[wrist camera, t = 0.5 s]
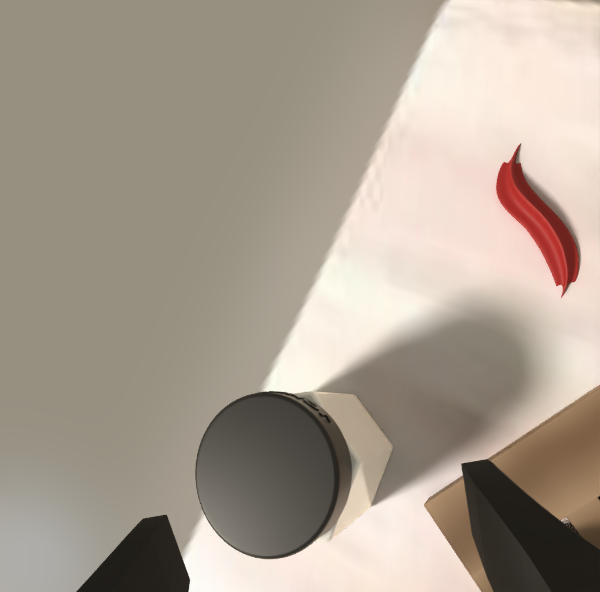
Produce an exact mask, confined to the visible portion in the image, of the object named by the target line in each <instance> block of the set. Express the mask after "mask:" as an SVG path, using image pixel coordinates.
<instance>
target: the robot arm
mask: <svg viewBox="0 0 600 592" xmlns="http://www.w3.org/2000/svg"><path fill="white" fill-rule="evenodd" d="M461 465H462V472H463V478H464V485H465V492H466V498H467V505H468V512H469V518H470V525H471V531H472V536H473V539H474V542H475V545H476V548H477V551H478V553H479V556H480V559H481V562H482V565H483V568H484V570H485V573H486V576H487V579H488V581H489V583H490V585H491V587H492V589H493V592H600V549H599V548H597V547H596V546H594V545H593V544H591V543H590V542H589V541H587V540H586V539H584V538H583V537H582V536H580V535H579V534H577V533H576V532H575V531H573V530H572V529H571V528H569V527H568V526H567V525H565V524H564V523H563V522H561V521H560V520H559V519H558V518H556V517H555V516H554V515H553V514H551V513H550V512H549V511H548V510H546V509H545V508H544V507H543V506H541V505H540V504H539V503H538V502H536V501H535V500H534V499H533V498H532V497H531V496H529V495H528V494H527V493H526V492H525V491H524V490H522V489H521V488H520V487H519V486H518V485H517V484H516V483H514V482H513V481H512V480H511V479H510V478H509V477H508V476H507V475H506V474H504V473H503V472H502V471H501V470H500V469H499V468H498V467H497V466H496V465H495V464H494V463H493V462H491V461H490V460H488V459H486V460H480V461H474V462H468V463H463V464H461ZM189 584H190V578H189V576H188V573H187V570H186V567H185V564H184V562H183V559H182V556H181V553H180V551H179V548H178V545H177V542H176V539H175V537H174V534H173V531H172V528H171V525H170V523H169V520H168V517H167V515H162V516H156V517H150V518H145V519H142V520H141V521H140V523H138V524H137V526H136V527H135V528H134V529H133V530H132V531H131V532H130V533H129V534H128V535H127V536H126V537H125V539H124V540H123V541H122V542H121V543H120V544H119V545H118V546H117V548H116V549H115V550H114V551H113V552H112V553H111V554H110V555H109V556H108V558H107V559H106V560H105V561H104V562H103V563H102V564H101V565H100V566H99V568H98V569H97V570H96V571H95V572H94V573H93V574H92V575H91V576H90V578H89V579H88V580H87V581H86V582H85V583H84V584H83V585H82V586H81V587H80V588H79V590H78V591H77V592H188V591H189Z"/></svg>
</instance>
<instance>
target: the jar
mask: <svg viewBox="0 0 600 592" xmlns="http://www.w3.org/2000/svg"><path fill="white" fill-rule="evenodd" d="M392 450H393V446H392V444H391V443H390V442H389V440H388V439H387V438H386V436H385V435H384V433H383V432H382V431H381V429H380V428H379V427H378V425H377V424H376V423H375V421H374V420H373V418H372V417H371V416H370V414H369V413H368V412H367V410H366V409H365V408H364V406H363V405H362V403H361V402H360V401H359V399H358V398H357V397H356V395H354V394H344V393H328V392H312V391H310V392H303V393H295V394H292V393H287V392H275V391H269V392H259V393H255V394H251V395H247V396H244V397H242V398H239V399H237V400H235V401H234V402H232V403H230V404H229V405H227V406H226V407H225V408H224V409H222V410H221V411H220V412H219V413H218V414H217V415H216V417H215V418H214V419H213V421H212V422H211V423H210V425H209V426H208V428H207V430H206V432H205V433H204V435H203V438H202V440H201V443H200V446H199V450H198V454H197V460H196V471H195V474H196V487H197V493H198V497H199V501H200V504H201V507H202V510H203V512H204V514H205V516H206V518H207V520H208V522H209V523H210V525H211V526H212V528H213V529H214V530H215V532H216V533H217V534H218V535H219V536H220V537H221V538H222V539H223V540H224V541H225V542H226V543H227V544H228V545H230V546H231V547H233V548H234V549H236V550H237V551H239V552H241V553H243V554H246V555H248V556H251V557H255V558H261V559H279V558H284V557H288V556H291V555H294V554H296V553H298V552H300V551H302V550H303V549H305V548H306V547H308V546H309V545H311V544H312V543H313V542H329V541H331V540H332V539H333V538H334V537H336V536H337V535H338V534H339V533H340V532H342V531H343V530H344V529H345V528H346V527H348V526H349V525H350V524H351V523H352V522H354V521H355V520H356V519H357V518H358V517H360V516H361V515H362V514H363V513H364V512H366V511H367V510H368V509H369V508H370V507H371V504H372V502H373V499H374V497H375V494H376V491H377V489H378V486H379V483H380V481H381V478H382V476H383V473H384V470H385V468H386V465H387V463H388V460H389V457H390V455H391V452H392Z"/></svg>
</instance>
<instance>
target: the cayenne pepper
mask: <svg viewBox="0 0 600 592" xmlns="http://www.w3.org/2000/svg"><path fill="white" fill-rule="evenodd" d="M519 147H520V145H519V146H518V147H517V149H516V151H515V153H514V155H513V157H512V159H511V160H510V161H509V163H506V162H504V163H503V164H502V166H501V168H500V171H499V174H498V178H497V185H496V190H497V195H498V198H499V200H500V202H501V204H502V205H503V207H504V208H505V209H506V210H507V211H508V212H509V213H510V214H511V215H512V216H513V217H514V218H515V219H516V220H517V221H518V222H519V223H521V224H522V225H523V226H524V227H525V228H526V230H527V231H528V232H529V233H530V235H531V236H532V238H533V239H534V241H535V242H536V244H537V245H538V247H539V248H540V250H541V252H542V254H543V256H544V257H545V260H546V262H547V264H548V266H549V268H550V270H551V273H552V275H553V278H554V280H555V283H556V286H558V285H562V286H563V293H562V296H563V294H564V292H565V290H566V288H567V286H568V284H569V283H570V282H575V281H576V278H577V275H578V269H579V260H578V252H577V247H576V245H575V242H574V240H573V238H572V236H571V234H570V233H569V231H568V229H567V228H566V226H565V225H564V223H563V222H562V221H561V220H560V218H559V217H558V216H557V215H556V214H555V213H554V212H553V211H552V210H551V209H550V208H549V207H548V206H547V205H546V204H545V203H544V202H543V201H542V200H541V199H540V198H539V197H538V196H537V195H536V193H535V192H534V191H533V190H532V189H531V187H530V186H529V185H528V183H527V182H526V180H525V178H524V176H523V173H522V169H521V163H518V164H516V162H515V161H516V155H517V152H518V149H519ZM562 296H561V298H562Z"/></svg>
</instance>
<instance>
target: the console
mask: <svg viewBox="0 0 600 592" xmlns="http://www.w3.org/2000/svg"><path fill="white" fill-rule="evenodd" d="M488 460H490V461H491V462H493V463H494V464H495V465H496V466H497V467H498V468H499V469H500V470H501V471H502V472H503V473H504V474H506V475H507V476H508V477H509V478H510V479H511V480H512V481H513V482H514V483H516V484H517V485H518V486H519V487H520V488H521V489H522V490H524V491H525V492H526V493H527V494H528V495H529V496H531V497H532V498H533V499H534V500H535V501H536V502H538V503H539V504H540V505H541V506H543V507H544V508H545V509H546V510H548V511H549V512H550V513H551V514H553V515H554V516H555V517H556V518H558V519H559V520H561V519H563V518H565V517H567V518H568V520H569V521H570V522H571V523H572V525H573V526H574V527H575V529H576V530H577V531H578V532H579V534H580V535H581V536H582V537H583V538H584V539H586V540H587V541H589V542H590V543H591V544H593V545H594V546H596V547H597V548H599V549H600V500H599V499H598V498H597V497H599V496H600V385H599V386H597V387H596V388H594V389H593V390H591V391H590V392H588V393H587V394H585V395H584V396H582V397H581V398H579V399H578V400H576V401H575V402H573V403H572V404H570V405H569V406H567V407H566V408H564V409H563V410H561V411H560V412H558V413H557V414H555V415H554V416H552V417H551V418H549V419H548V420H546V421H545V422H543V423H541V424H540V425H538V426H537V427H535V428H534V429H532V430H531V431H529V432H528V433H526V434H525V435H523V436H522V437H520V438H519V439H517V440H516V441H514V442H513V443H511V444H510V445H508V446H507V447H505V448H504V449H502V450H501V451H499V452H498V453H496V454H495V455H493V456H492V457H490V458H489V459H488ZM424 506H425V508H426V509H427V511H428V512H429V514H430V515H431V517H432V518H433V520H434V521H435V523H436V524H437V526H438V527H439V529H440V530H441V532H442V533H443V535H444V536H445V538H446V539H447V541H448V542H449V544H450V545H451V547H452V548H453V550H454V551H455V553H456V554H457V556H458V557H459V559H460V560H461V562H462V563H463V565H464V566H465V568H466V569H467V571H468V572H469V574H470V575H471V577H472V578H473V580H474V581H475V583H476V584H477V586H478V587H479V589H480V590H481V592H493V589H492V587H491V585H490V583H489V581H488V579H487V576H486V573H485V570H484V568H483V565H482V562H481V559H480V556H479V553H478V551H477V548H476V545H475V542H474V539H473V536H472V531H471V525H470V518H469V512H468V505H467V498H466V492H465V485H464V478H463V476H461V477H460V478H458V479H457V480H455V481H454V482H452V483H451V484H449V485H448V486H446V487H445V488H443V489H442V490H440V491H439V492H437V493H436V494H434V495H433V496H431V497H430V498H429V499H428V500H427V501H426V503H425V504H424Z"/></svg>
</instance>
